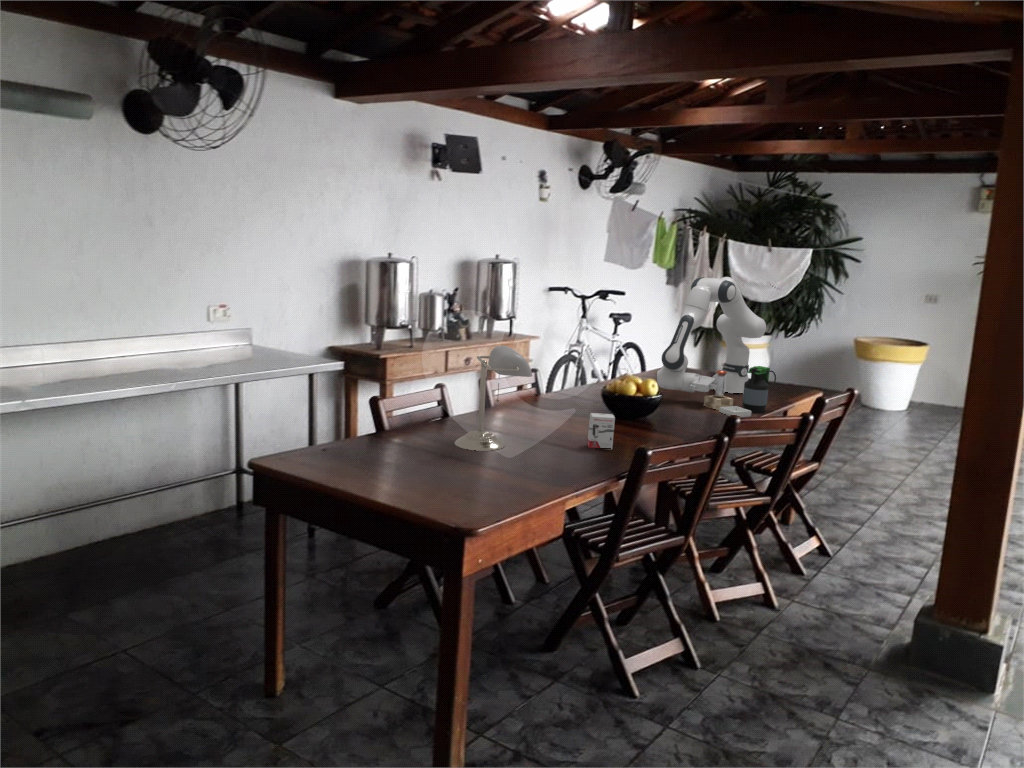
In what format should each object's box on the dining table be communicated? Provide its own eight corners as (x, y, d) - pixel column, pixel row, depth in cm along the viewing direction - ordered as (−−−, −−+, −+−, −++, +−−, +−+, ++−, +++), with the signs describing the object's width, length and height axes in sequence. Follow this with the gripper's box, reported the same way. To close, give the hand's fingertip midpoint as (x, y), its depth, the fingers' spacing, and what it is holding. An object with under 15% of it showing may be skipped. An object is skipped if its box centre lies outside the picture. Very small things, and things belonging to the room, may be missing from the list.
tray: (718, 412, 353) (719, 407, 353) (735, 411, 357) (736, 406, 357) (733, 417, 345) (734, 412, 344) (750, 416, 349) (751, 410, 348)
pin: (710, 407, 364) (714, 370, 361) (718, 406, 366) (722, 370, 363) (717, 409, 360) (721, 372, 357) (725, 408, 362) (729, 371, 359)
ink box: (588, 448, 282) (590, 416, 280) (587, 444, 287) (589, 412, 285) (612, 449, 282) (615, 417, 280) (611, 446, 287) (613, 414, 285)
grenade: (772, 410, 364) (778, 367, 360) (759, 414, 354) (764, 370, 350) (751, 406, 371) (755, 363, 367) (737, 410, 361) (742, 366, 357)
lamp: (531, 454, 271) (537, 355, 264) (460, 454, 266) (464, 354, 259) (514, 434, 296) (520, 343, 290) (449, 434, 291) (453, 342, 284)
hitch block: (703, 406, 365) (704, 395, 364) (719, 405, 369) (720, 394, 368) (716, 410, 357) (717, 399, 356) (732, 409, 361) (733, 398, 360)
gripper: (687, 379, 356) (718, 383, 351) (696, 372, 375) (726, 376, 369) (686, 393, 357) (717, 397, 352) (695, 386, 376) (725, 389, 370)
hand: (722, 386), depth 361 cm, fingers closed on pin, 4 cm apart
